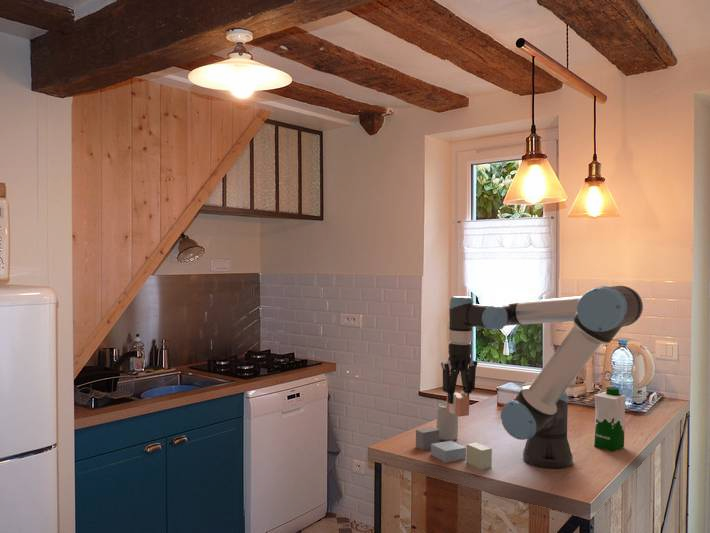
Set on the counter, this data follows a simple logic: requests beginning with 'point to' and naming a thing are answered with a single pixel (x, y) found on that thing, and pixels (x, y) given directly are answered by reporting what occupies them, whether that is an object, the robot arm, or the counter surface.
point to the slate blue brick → (448, 451)
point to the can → (446, 424)
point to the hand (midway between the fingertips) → (458, 412)
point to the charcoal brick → (426, 437)
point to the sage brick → (479, 455)
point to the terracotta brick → (460, 405)
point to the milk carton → (609, 419)
